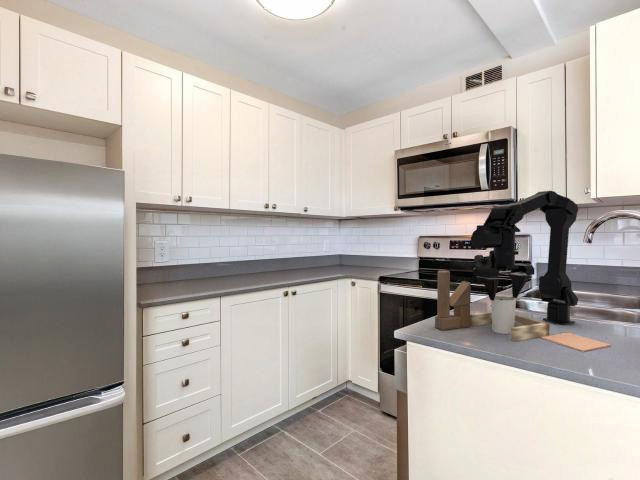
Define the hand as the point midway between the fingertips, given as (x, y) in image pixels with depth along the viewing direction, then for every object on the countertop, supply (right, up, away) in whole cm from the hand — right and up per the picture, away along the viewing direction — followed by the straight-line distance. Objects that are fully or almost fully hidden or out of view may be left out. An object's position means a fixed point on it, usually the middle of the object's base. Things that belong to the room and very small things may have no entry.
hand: (503, 299), depth 101 cm
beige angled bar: (+2, -10, +1) cm, 10 cm away
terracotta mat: (+14, -10, -10) cm, 20 cm away
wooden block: (-14, -10, +4) cm, 18 cm away
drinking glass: (0, -10, 0) cm, 10 cm away
